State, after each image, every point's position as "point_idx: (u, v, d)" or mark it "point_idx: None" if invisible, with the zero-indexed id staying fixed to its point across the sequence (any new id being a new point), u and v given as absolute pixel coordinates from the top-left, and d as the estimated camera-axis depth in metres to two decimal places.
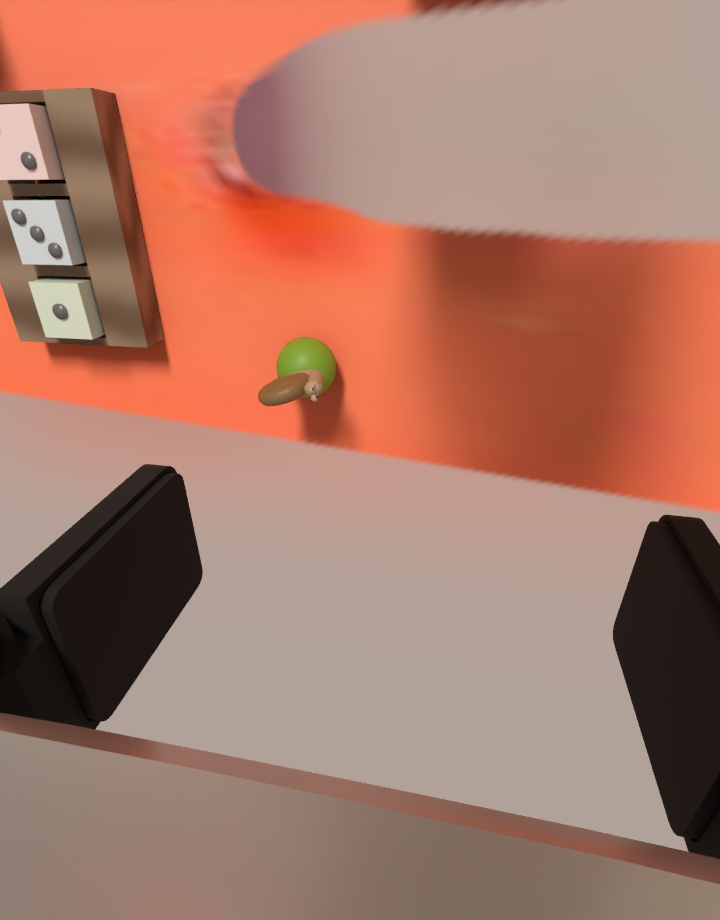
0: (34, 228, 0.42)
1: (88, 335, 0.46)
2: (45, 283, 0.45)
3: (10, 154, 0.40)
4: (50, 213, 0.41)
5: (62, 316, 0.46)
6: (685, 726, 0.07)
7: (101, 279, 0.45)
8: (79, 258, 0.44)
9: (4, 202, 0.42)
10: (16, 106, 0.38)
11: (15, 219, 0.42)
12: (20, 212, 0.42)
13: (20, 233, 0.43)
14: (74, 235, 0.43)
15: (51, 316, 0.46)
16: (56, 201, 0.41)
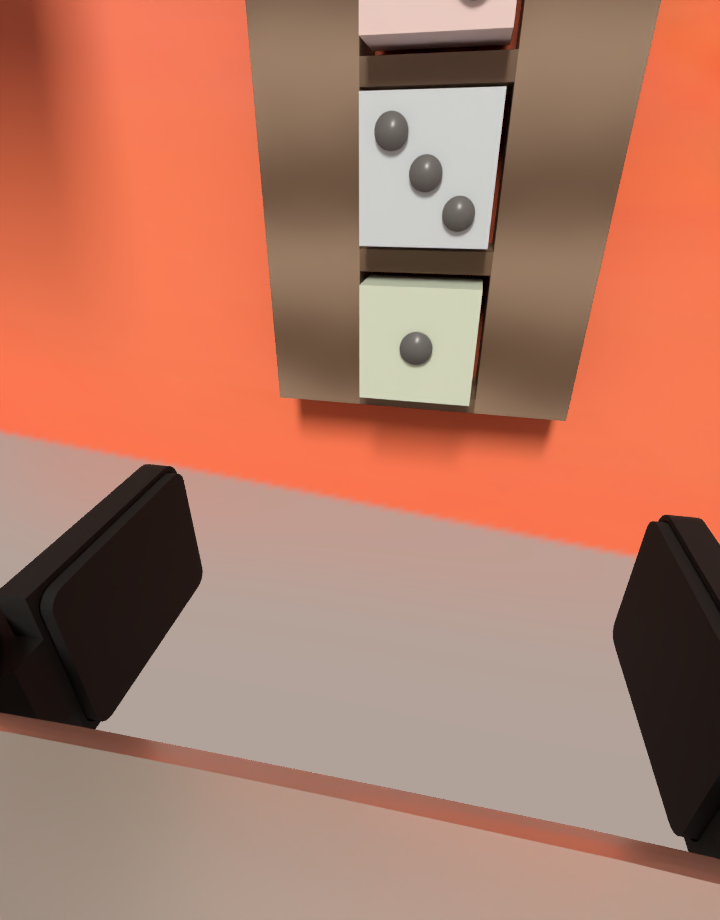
0: (425, 160, 0.18)
1: (462, 397, 0.22)
2: (400, 288, 0.20)
3: None
4: (479, 122, 0.17)
5: (419, 358, 0.21)
6: (685, 727, 0.07)
7: (516, 280, 0.21)
8: None
9: (363, 95, 0.17)
10: None
11: (381, 138, 0.18)
12: (403, 118, 0.17)
13: (378, 173, 0.18)
14: None
15: (388, 357, 0.22)
16: None
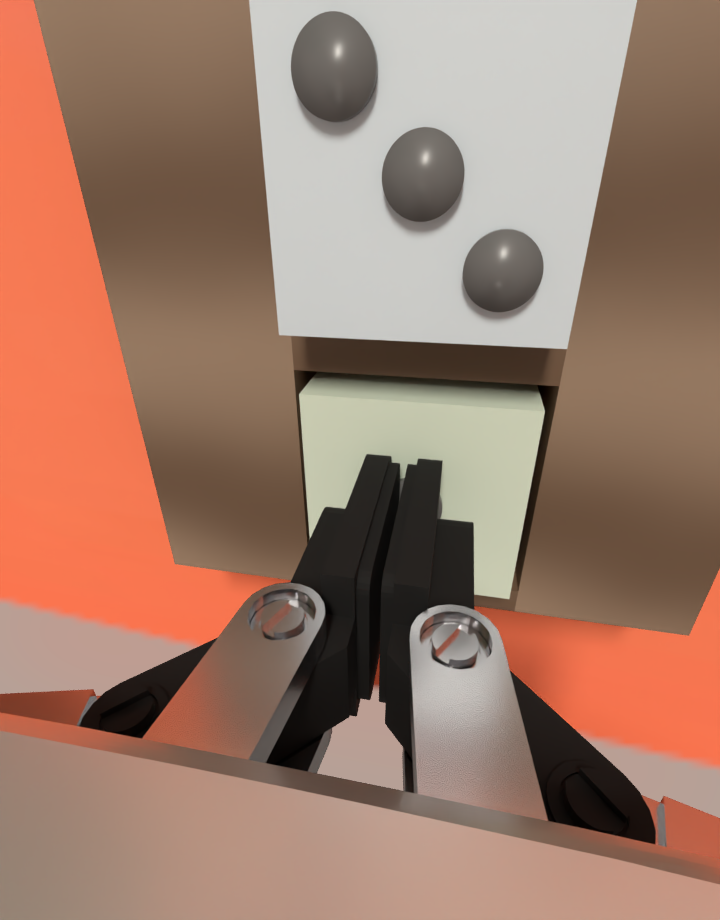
0: (422, 143, 0.07)
1: (497, 586, 0.12)
2: (379, 403, 0.10)
3: None
4: (564, 37, 0.06)
5: None
6: None
7: (613, 396, 0.10)
8: None
9: None
10: None
11: (311, 88, 0.07)
12: (363, 34, 0.07)
13: (310, 176, 0.08)
14: None
15: None
16: None
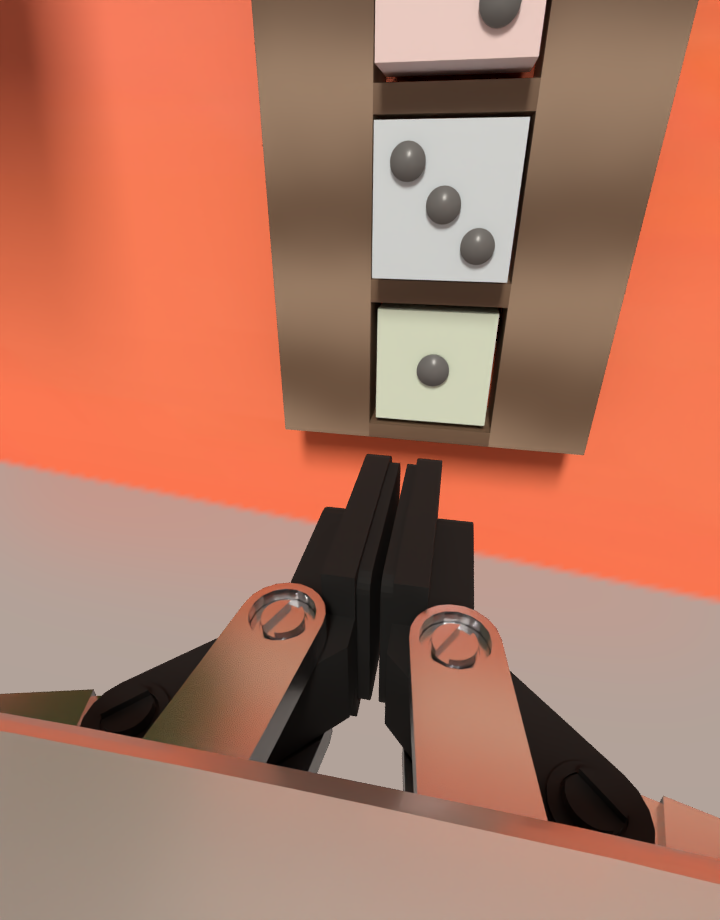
0: (443, 191, 0.17)
1: (478, 418, 0.23)
2: (418, 313, 0.21)
3: None
4: (500, 153, 0.16)
5: (436, 380, 0.22)
6: None
7: (534, 313, 0.20)
8: None
9: (378, 124, 0.17)
10: None
11: (397, 168, 0.17)
12: (420, 149, 0.17)
13: (393, 204, 0.18)
14: None
15: (405, 379, 0.22)
16: None
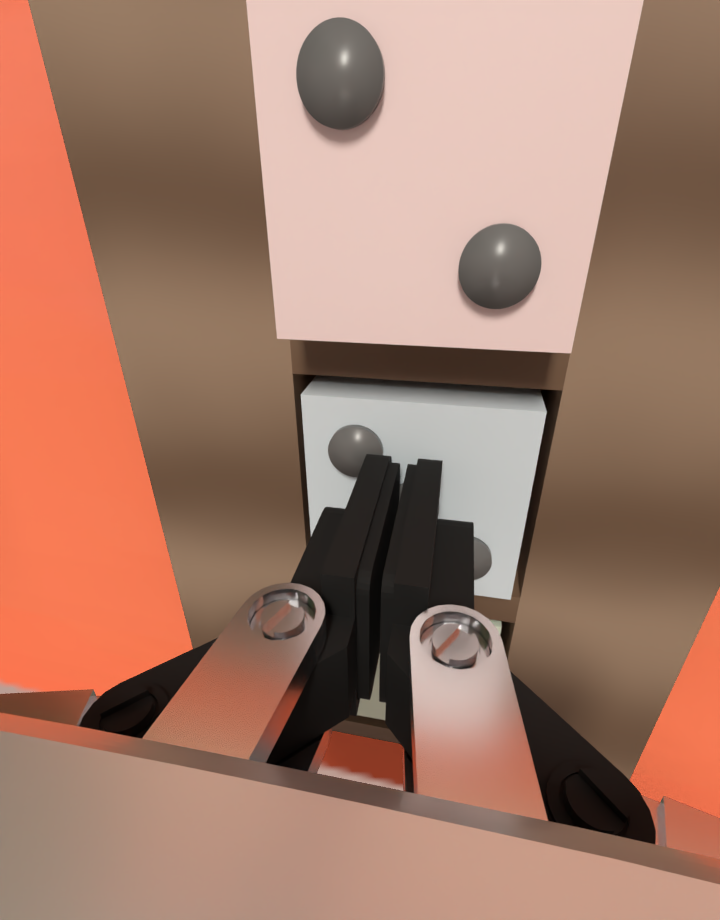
0: None
1: None
2: None
3: (399, 234, 0.08)
4: (498, 452, 0.10)
5: None
6: None
7: (555, 633, 0.13)
8: None
9: (308, 401, 0.11)
10: None
11: (340, 460, 0.11)
12: (374, 441, 0.11)
13: (338, 496, 0.12)
14: None
15: None
16: (546, 413, 0.10)
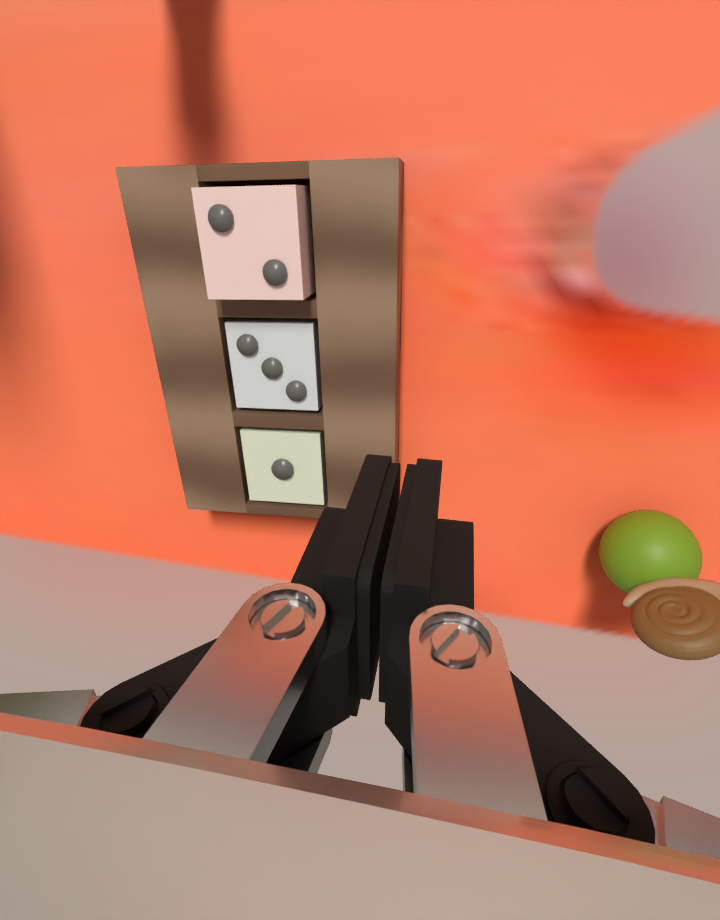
0: (270, 361, 0.28)
1: (318, 499, 0.32)
2: (267, 432, 0.30)
3: (244, 262, 0.24)
4: (300, 341, 0.27)
5: (285, 476, 0.31)
6: None
7: (341, 433, 0.29)
8: None
9: (227, 325, 0.27)
10: (272, 189, 0.23)
11: (241, 349, 0.28)
12: (253, 339, 0.27)
13: (243, 366, 0.28)
14: None
15: (265, 474, 0.32)
16: (314, 324, 0.27)
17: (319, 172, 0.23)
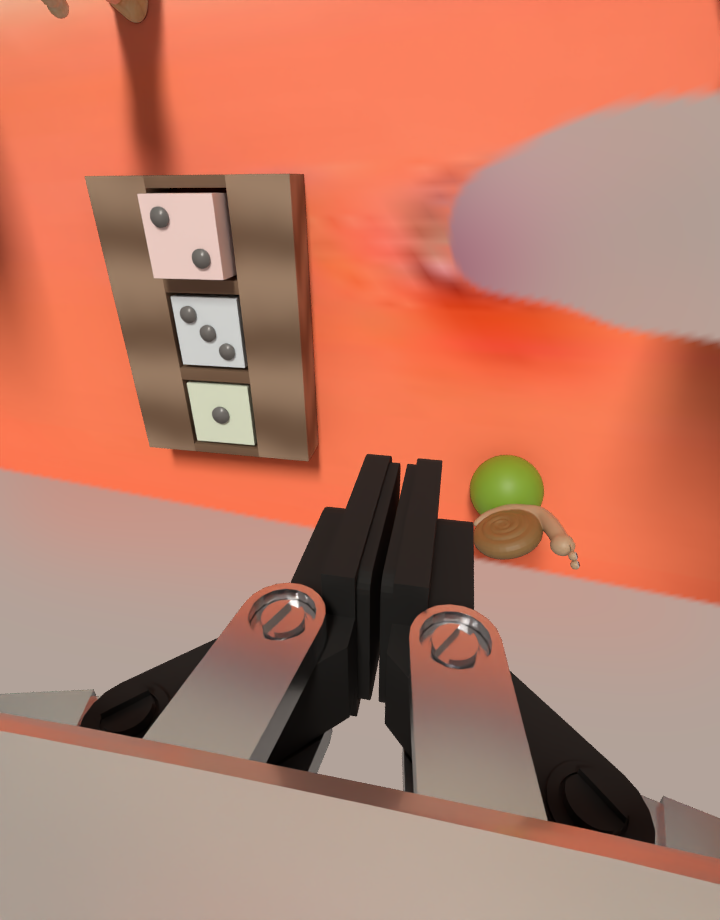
0: (206, 328, 0.36)
1: (250, 440, 0.40)
2: (207, 385, 0.38)
3: (178, 250, 0.32)
4: (227, 312, 0.35)
5: (223, 420, 0.39)
6: None
7: (263, 386, 0.37)
8: None
9: (172, 298, 0.36)
10: (195, 196, 0.30)
11: (184, 317, 0.36)
12: (192, 310, 0.35)
13: (186, 331, 0.37)
14: None
15: (208, 419, 0.40)
16: (237, 299, 0.35)
17: (233, 183, 0.31)
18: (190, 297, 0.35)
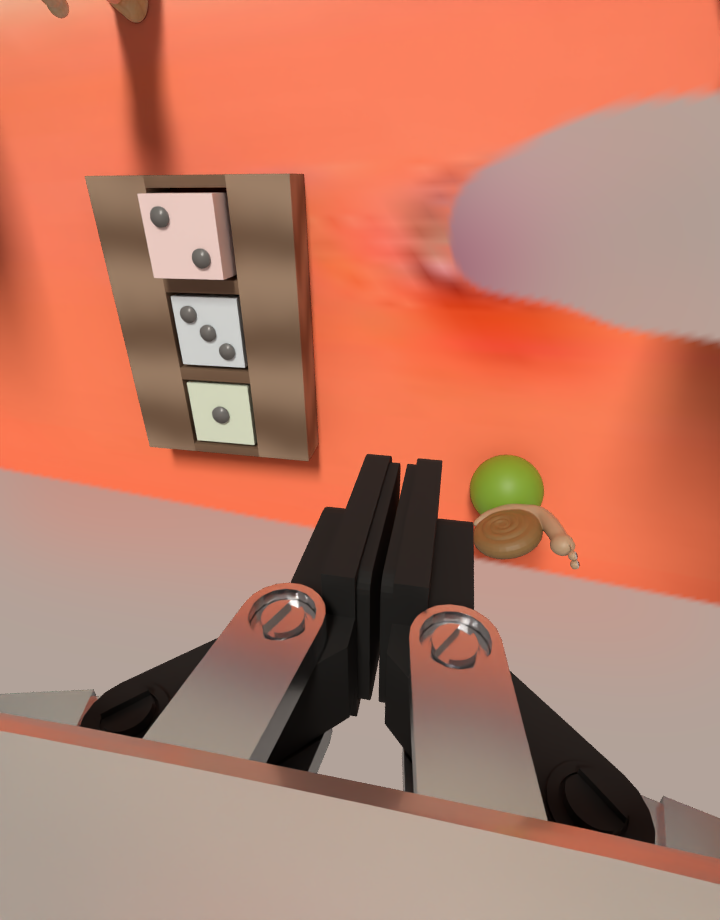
0: (206, 327, 0.36)
1: (250, 440, 0.40)
2: (207, 385, 0.38)
3: (178, 250, 0.32)
4: (227, 312, 0.35)
5: (223, 420, 0.39)
6: None
7: (263, 386, 0.37)
8: None
9: (173, 298, 0.36)
10: (195, 196, 0.30)
11: (184, 317, 0.36)
12: (192, 309, 0.35)
13: (186, 331, 0.37)
14: None
15: (208, 419, 0.40)
16: (237, 299, 0.35)
17: (233, 183, 0.31)
18: (190, 297, 0.35)
